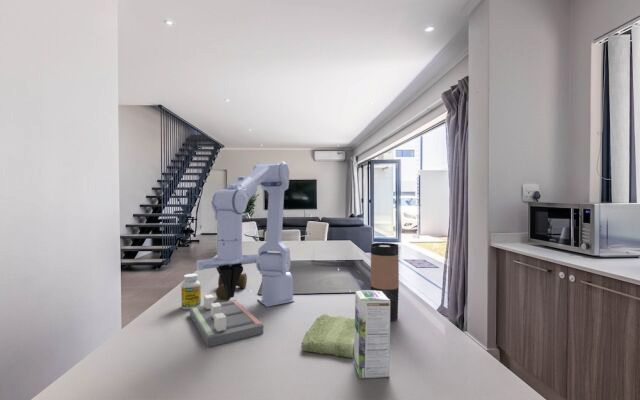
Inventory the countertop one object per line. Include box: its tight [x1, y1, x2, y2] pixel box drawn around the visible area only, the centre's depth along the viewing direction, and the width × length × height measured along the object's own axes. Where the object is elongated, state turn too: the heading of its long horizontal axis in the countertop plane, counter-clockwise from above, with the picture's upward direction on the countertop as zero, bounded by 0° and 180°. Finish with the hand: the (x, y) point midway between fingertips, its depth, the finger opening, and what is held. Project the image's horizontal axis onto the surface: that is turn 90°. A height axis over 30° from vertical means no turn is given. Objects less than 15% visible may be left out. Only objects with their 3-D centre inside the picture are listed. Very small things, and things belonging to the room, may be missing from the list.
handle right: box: [203, 294, 215, 309], centre depth 86 cm, size 2×3×3 cm, turn 32°
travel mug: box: [370, 242, 400, 322], centre depth 85 cm, size 8×8×20 cm
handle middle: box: [211, 302, 222, 319], centre depth 79 cm, size 2×3×3 cm, turn 32°
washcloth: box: [300, 314, 355, 359], centre depth 72 cm, size 13×18×3 cm
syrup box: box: [353, 289, 391, 379], centre depth 59 cm, size 6×6×14 cm
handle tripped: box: [214, 313, 226, 332], centre depth 72 cm, size 2×3×3 cm, turn 32°
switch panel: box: [189, 299, 264, 348], centre depth 80 cm, size 13×22×2 cm, turn 32°
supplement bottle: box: [180, 273, 202, 310], centre depth 93 cm, size 5×5×10 cm
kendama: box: [215, 272, 248, 301], centre depth 108 cm, size 6×10×20 cm
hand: (229, 296), depth 73 cm, fingers closed
